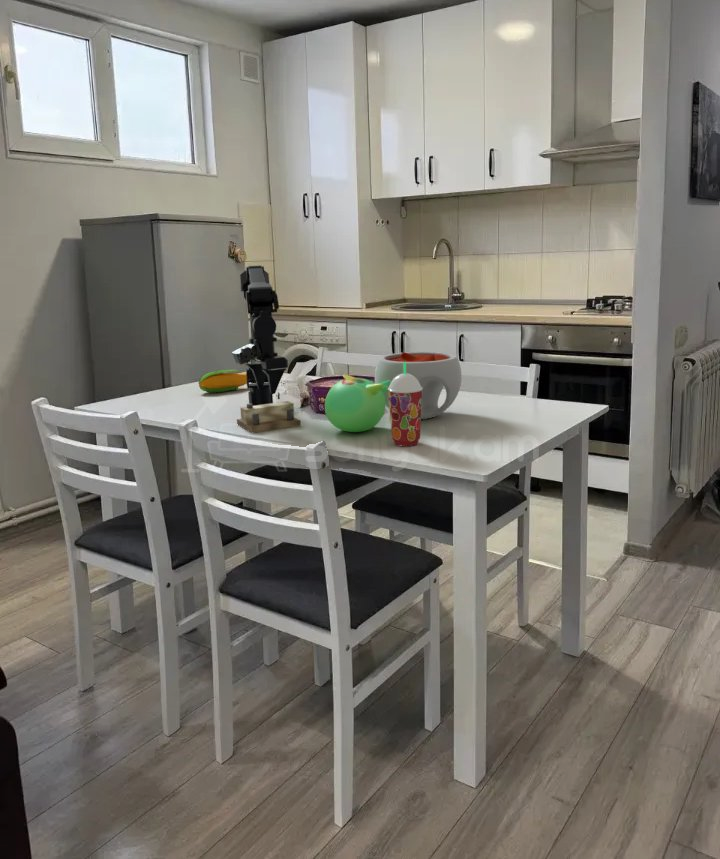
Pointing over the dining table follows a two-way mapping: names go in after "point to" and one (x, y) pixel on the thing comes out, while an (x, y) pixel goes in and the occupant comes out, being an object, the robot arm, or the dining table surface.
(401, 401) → the smoothie
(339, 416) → the toy bird
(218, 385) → the corn
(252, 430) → the peg rest
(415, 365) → the pot
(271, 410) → the wooden block
